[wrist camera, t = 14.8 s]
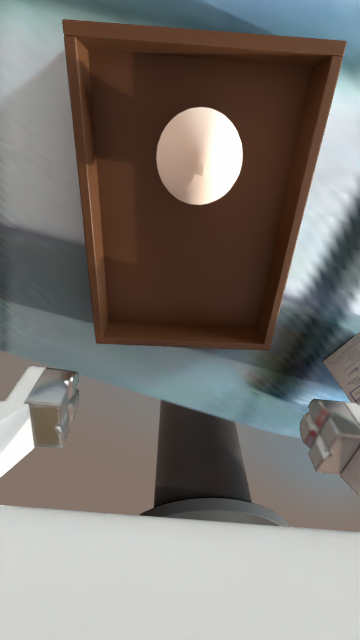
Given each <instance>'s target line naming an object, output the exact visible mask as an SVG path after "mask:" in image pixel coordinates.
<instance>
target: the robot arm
mask: <svg viewBox="0 0 360 640" xmlns="http://www.w3.org/2000/svg"><path fill="white" fill-rule="evenodd" d="M78 382H79V373H78V372H76V371H69V370H62V369H54V368H45V367H37V366H30V367H29V368H27V369H26V371H25V372H24V374H23V375H22V377H21V378H20V380H19V381H18V383H17V384H16V386H15V387H14V388H13V390H12V392H11V393H10V394H9V396H8V397H7V399H6V400H5V401H0V477H1V476H3V475H4V474H5V473H6V472H7V471H8V470H9V469H11V468H12V467H13V466H14V465H15V464H16V463H18V462H19V461H20V460H21V459H22V458H23V457H24V456H26V455H27V454H28V453H29V452H30V451H31V450H32V449H34V446H38V447H53V448H63V446H64V443H65V441H66V438H67V436H68V433H69V422H71V421H72V420H73V419H74V417H75V414H76V411H77V407H78V401H79V390H78V389H77V388H76V387H77V385H78ZM308 408H309V411H310V412H308V413H307V414H305V415H303V417H302V420H301V422H300V434H301V438H302V440H303V442H304V443H305V444H306V445H307V446H308V447H309V448H310V450H309V453H308V454H309V457H310V459H311V461H312V464H313V466H314V468H315V471H316V472H322V473H330V474H340V477H341V478H342V479H343V480H344V481H345V482H346V483H347V484H348V485H349V486H350V487H351V488H352V489H353V490H354V491H355V493H356V494H357V495H358V496H359V497H360V406H359V405H358V404H357V403H352V402H339V401H330V400H321V399H313V400H312V401H311V402H310V404H309V406H308ZM0 640H360V532H351V531H337V530H323V529H310V528H297V527H284V526H271V525H257V524H244V523H231V522H218V521H205V520H192V519H178V518H165V517H152V516H139V515H125V514H112V513H99V512H87V511H73V510H60V509H59V510H58V509H47V508H33V507H21V506H7V505H0Z"/></svg>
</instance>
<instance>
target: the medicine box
mask: <svg viewBox="0 0 360 640" xmlns="http://www.w3.org/2000/svg"><path fill="white" fill-rule="evenodd" d="M323 363H324V365H325V366H326V367H327V369H328V370H329V372H330V373H331V374H332V376H333V377H334V379H335V380H336V381H337V383H338V384H339V386H340V387H341V389H342V390H343V391H344V393H345V394H346V396H347V397H348V399H349V400H350V401H351V402H352V403H357V404H358V405H359V406H360V333H358V334H357V335H355V336H354V337H353V338H352V339H350V340H349V341H348V342H347V343H345V344H344V345H343V346H342V347H340V348H339V349H338V350H336V351H335V352H334V353H333V354H332V355H330V356H329V357H328V358H326V359H325V360H324V361H323Z"/></svg>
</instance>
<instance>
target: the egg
mask: <svg viewBox="0 0 360 640" xmlns="http://www.w3.org/2000/svg"><path fill="white" fill-rule="evenodd" d="M156 161H157V168H158V173H159V176H160V178H161V180H162V183H163V184H164V186H165V187H166V188H167V190H168V191H169V192H170V193H171V194H172V195H173V196H175V197H176V198H177V199H179V200H180V201H182V202H185V203H188V204H196V205H203V204H208V203H211V202H213V201H216V200H218V199H219V198H221V197H222V196H224V195H225V194H226V193H227V192H228V191H229V190H230V189H231V187H232V186H233V184H234V183H235V181H236V179H237V177H238V175H239V173H240V169H241V165H242V144H241V140H240V137H239V135H238V132H237V130H236V128H235V127H234V125H233V123H232V122H231V121H230V120H229V119H228V118H227V117H226V116H225V115H223V114H222V113H220V112H218V111H216V110H214V109H211V108H205V107H197V108H190V109H187V110H185V111H183V112H181V113H179V114H178V115H176V116H175V117H174V118H173V119H172V120H171V121H170V122H169V123H168V124H167V125H166V127H165V129H164V130H163V132H162V134H161V137H160V140H159V143H158V146H157V156H156Z"/></svg>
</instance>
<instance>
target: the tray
mask: <svg viewBox="0 0 360 640" xmlns="http://www.w3.org/2000/svg"><path fill="white" fill-rule="evenodd" d="M62 24H63V33H64V35H65V36H64V43H65V52H66V62H67V71H68V81H69V91H70V100H71V110H72V119H73V129H74V138H75V148H76V157H77V167H78V177H79V186H80V196H81V205H82V215H83V224H84V234H85V244H86V253H87V263H88V272H89V282H90V291H91V301H92V310H93V320H94V330H95V337H96V338H95V339H96V343H98V344H123V345H147V346H172V347H196V348H221V349H245V350H270V346H271V345H270V344H271V342H272V338H273V334H274V330H275V326H276V322H277V318H278V314H279V310H280V306H281V302H282V298H283V294H284V290H285V286H286V282H287V278H288V274H289V270H290V266H291V262H292V258H293V254H294V250H295V246H296V242H297V238H298V234H299V231H300V227H301V223H302V219H303V215H304V211H305V207H306V203H307V199H308V195H309V191H310V187H311V183H312V179H313V175H314V171H315V167H316V163H317V159H318V155H319V151H320V147H321V143H322V139H323V135H324V131H325V127H326V123H327V119H328V115H329V111H330V107H331V103H332V99H333V95H334V91H335V88H336V84H337V80H338V76H339V72H340V68H341V64H342V60H343V57H342V56H343V55H344V52H345V48H346V44H347V41H341V40H328V39H315V38H302V37H289V36H276V35H263V34H250V33H237V32H224V31H211V30H197V29H184V28H171V27H158V26H145V25H132V24H119V23H106V22H93V21H80V20H67V19H63V20H62ZM197 107H205V108H211V109H214V110H216V111H218V112H220V113H222V114H223V115H225V116H226V117H227V118H228V119H229V120H230V121H231V122H232V123H233V125H234V127H235V128H236V130H237V132H238V135H239V137H240V140H241V144H242V165H241V169H240V173H239V175H238V177H237V179H236V181H235V183H234V184H233V186H232V187H231V189H230V190H229V191H228V192H227V193H226V194H225V195H224V196H222V197H221V198H219V199H218V200H216V201H213V202H211V203H208V204H203V205H196V204H188V203H185V202H182V201H180V200H179V199H177V198H176V197H175V196H173V195H172V194H171V193H170V192H169V191H168V190H167V188H166V187H165V186H164V184H163V183H162V180H161V178H160V176H159V173H158V168H157V161H156V156H157V146H158V143H159V140H160V137H161V134H162V132H163V130H164V129H165V127H166V125H167V124H168V123H169V122H170V121H171V120H172V119H173V118H174V117H175V116H176V115H178V114H179V113H181V112H183V111H185V110H187V109H190V108H197Z"/></svg>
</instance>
